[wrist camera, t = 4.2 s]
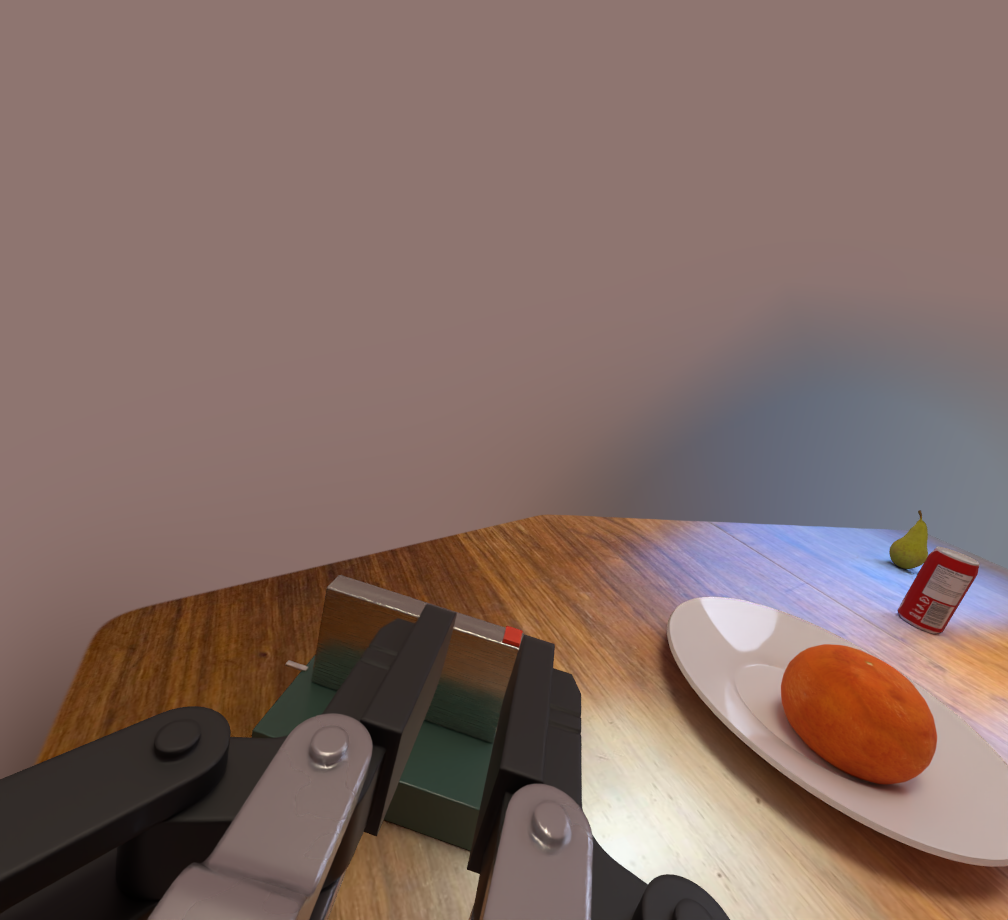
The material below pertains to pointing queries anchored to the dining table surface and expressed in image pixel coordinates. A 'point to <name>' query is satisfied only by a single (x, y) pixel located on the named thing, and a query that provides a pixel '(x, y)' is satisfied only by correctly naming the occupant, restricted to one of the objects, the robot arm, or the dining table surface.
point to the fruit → (911, 547)
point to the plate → (846, 727)
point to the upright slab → (467, 668)
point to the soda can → (938, 589)
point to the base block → (427, 774)
